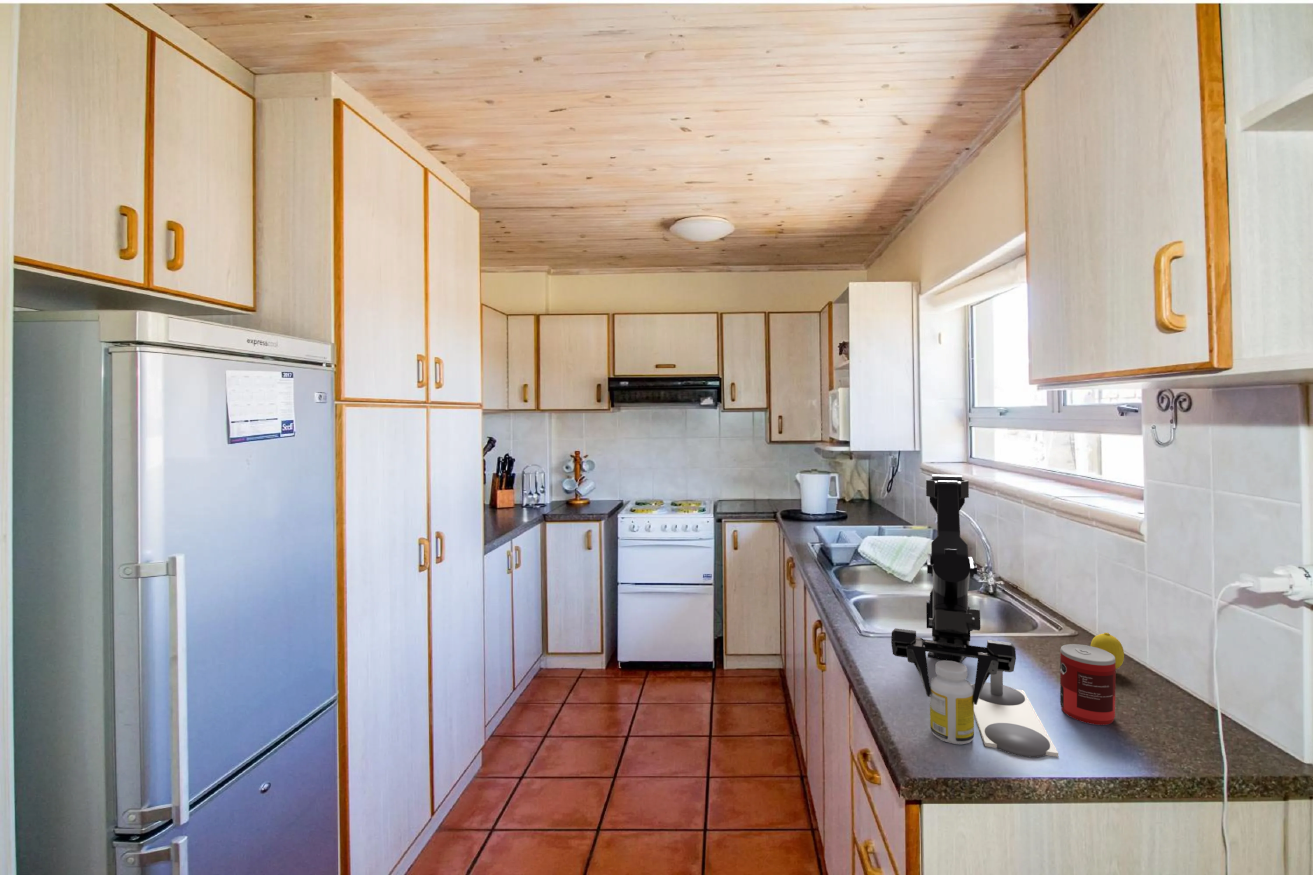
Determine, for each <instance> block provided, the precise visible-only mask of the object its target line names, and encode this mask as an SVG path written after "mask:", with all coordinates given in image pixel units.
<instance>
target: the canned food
mask: <svg viewBox="0 0 1313 875" xmlns="http://www.w3.org/2000/svg"><path fill="white" fill-rule="evenodd" d="M1059 652H1060V653H1059V654H1060V655H1059V658H1060V659H1059V663H1060V664H1059V670H1060V671H1059V673H1060V674H1059V677H1060V678H1059V682H1060V683H1059V686H1060V687H1059V690H1060V691H1059V692H1060V693H1059V694H1060V695H1059V700H1060V701H1059V702H1060V707H1061V711H1063V713H1064V714H1065V715H1067V716H1068V717H1070V718H1072V719H1074V720H1077V721H1079V722H1082V723H1084V724H1085V723H1086V724H1088V725H1096V726H1105V725H1111V724H1113V722H1114V720H1115V717H1116V670H1117V669H1116V661H1115V657H1114V656H1113V655H1112V654H1111V653H1109V652H1107V651H1105V650H1102V649H1099V648H1096V647H1092V646H1090V645H1086V644H1078V643H1067V644H1064V645H1062V646H1060V651H1059Z"/></svg>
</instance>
